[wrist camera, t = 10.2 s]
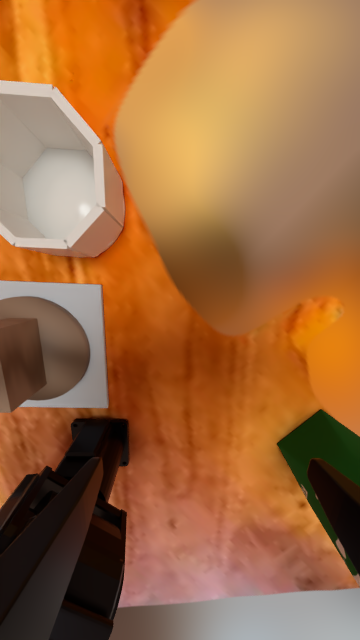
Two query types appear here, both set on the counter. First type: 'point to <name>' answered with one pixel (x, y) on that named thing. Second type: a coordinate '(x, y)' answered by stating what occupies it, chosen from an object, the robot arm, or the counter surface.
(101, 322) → the mat
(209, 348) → the counter surface
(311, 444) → the milk carton
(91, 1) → the counter surface
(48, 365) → the lid
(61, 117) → the bowl
